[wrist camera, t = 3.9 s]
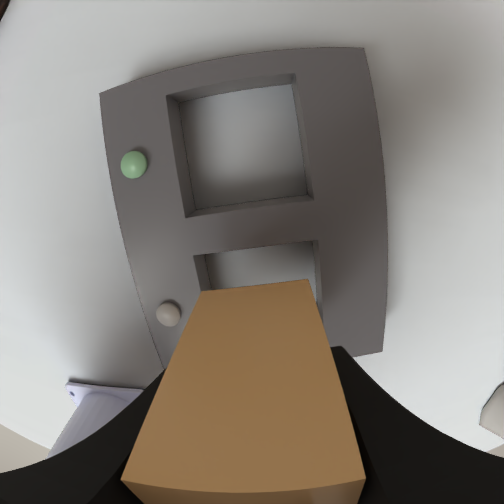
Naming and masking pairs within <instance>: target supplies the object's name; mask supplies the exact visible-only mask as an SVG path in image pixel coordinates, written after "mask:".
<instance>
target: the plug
mask: <svg viewBox="0 0 504 504" xmlns="http://www.w3.org/2000/svg"><path fill="white" fill-rule="evenodd" d="M365 480H366V477H365V472H364V468H363V464H362V460H361V456H360V452H359V448H358V444H357V441H356V437H355V433H354V429H353V425H352V422H351V418H350V414H349V411H348V407H347V404H346V400H345V396H344V393H343V389H342V386H341V382H340V379H339V376H338V372H337V369H336V366H335V362H334V359H333V356H332V352H331V349H330V346H329V342H328V339H327V336H326V333H325V330H324V326H323V323H322V320H321V317H320V314H319V311H318V308H317V305H316V302H315V299H314V296H313V292H312V289H311V286H310V283H309V280H308V279H303V280H295V281H287V282H279V283H271V284H263V285H254V286H246V287H237V288H228V289H219V290H209V291H201V293H200V295H199V298H198V300H197V302H196V304H195V306H194V308H193V311H192V313H191V315H190V317H189V319H188V322H187V324H186V326H185V328H184V331H183V333H182V335H181V337H180V339H179V342H178V344H177V346H176V348H175V351H174V353H173V355H172V357H171V360H170V362H169V364H168V367H167V369H166V371H165V373H164V376H163V378H162V380H161V383H160V385H159V387H158V390H157V392H156V394H155V397H154V399H153V401H152V404H151V406H150V408H149V411H148V413H147V416H146V418H145V420H144V423H143V425H142V428H141V430H140V432H139V435H138V437H137V440H136V442H135V445H134V447H133V450H132V452H131V454H130V457H129V459H128V462H127V464H126V467H125V469H124V472H123V475H122V477H121V481H122V482H123V483H124V484H125V485H126V486H127V487H128V488H129V489H130V490H131V491H132V492H133V493H134V494H135V495H136V496H137V497H138V498H139V499H140V500H141V501H142V502H143V503H144V504H357V503H358V500H359V497H360V494H361V492H362V489H363V486H364V483H365Z"/></svg>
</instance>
